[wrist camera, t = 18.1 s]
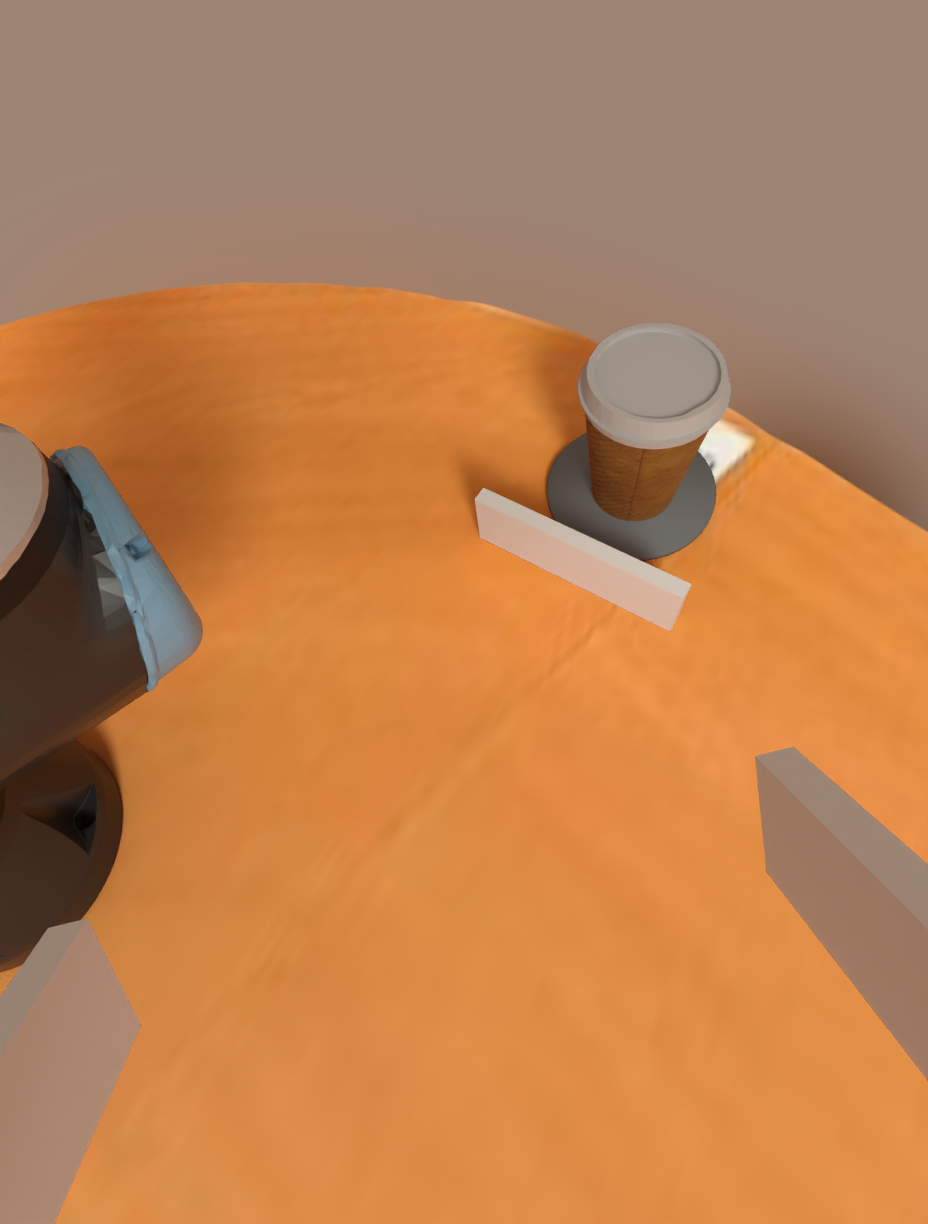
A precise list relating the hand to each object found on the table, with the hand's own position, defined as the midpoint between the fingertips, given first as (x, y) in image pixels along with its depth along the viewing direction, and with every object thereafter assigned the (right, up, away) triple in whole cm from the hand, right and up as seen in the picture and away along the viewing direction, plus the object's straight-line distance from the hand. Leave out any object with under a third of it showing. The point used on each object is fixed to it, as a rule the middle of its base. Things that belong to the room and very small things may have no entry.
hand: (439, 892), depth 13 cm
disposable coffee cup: (+14, +15, +39) cm, 44 cm away
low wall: (+9, +8, +36) cm, 38 cm away
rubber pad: (+14, +15, +39) cm, 44 cm away
